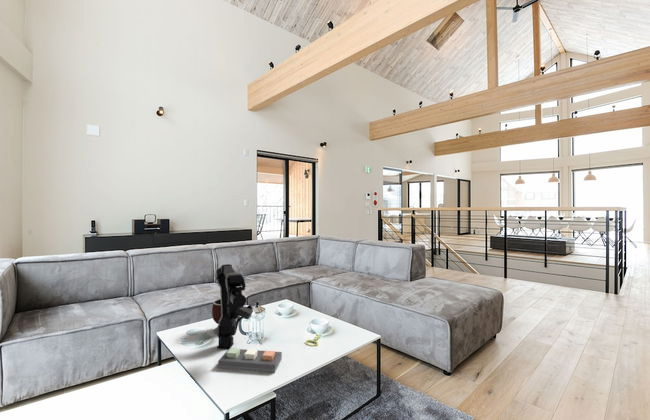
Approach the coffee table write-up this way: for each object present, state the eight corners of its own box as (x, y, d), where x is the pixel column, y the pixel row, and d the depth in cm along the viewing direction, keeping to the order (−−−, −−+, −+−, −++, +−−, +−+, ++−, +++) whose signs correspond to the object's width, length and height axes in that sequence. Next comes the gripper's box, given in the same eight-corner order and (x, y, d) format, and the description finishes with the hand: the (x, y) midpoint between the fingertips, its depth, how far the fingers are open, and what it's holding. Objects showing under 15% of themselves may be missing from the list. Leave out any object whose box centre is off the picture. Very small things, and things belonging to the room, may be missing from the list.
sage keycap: (226, 358, 142) (226, 352, 142) (230, 353, 146) (230, 348, 146) (236, 358, 141) (236, 353, 141) (240, 354, 146) (240, 348, 146)
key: (321, 337, 174) (321, 333, 174) (317, 347, 161) (317, 343, 161) (308, 336, 175) (308, 332, 175) (303, 346, 162) (304, 342, 162)
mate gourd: (227, 336, 171) (228, 301, 171) (206, 333, 175) (207, 298, 175) (242, 326, 186) (243, 293, 186) (222, 323, 190) (223, 291, 190)
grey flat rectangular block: (218, 368, 138) (218, 360, 138) (229, 355, 150) (229, 348, 150) (274, 372, 136) (275, 364, 136) (281, 359, 148) (281, 352, 147)
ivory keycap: (244, 359, 141) (244, 353, 141) (248, 354, 145) (248, 349, 145) (254, 360, 140) (254, 354, 140) (257, 355, 145) (257, 349, 145)
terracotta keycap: (262, 360, 140) (262, 355, 140) (265, 355, 144) (265, 350, 144) (272, 361, 139) (272, 355, 139) (275, 356, 144) (275, 351, 144)
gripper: (243, 309, 133) (242, 344, 134) (257, 296, 152) (257, 327, 152) (218, 307, 134) (218, 343, 135) (235, 295, 153) (235, 326, 153)
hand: (233, 334), depth 144 cm, fingers closed
